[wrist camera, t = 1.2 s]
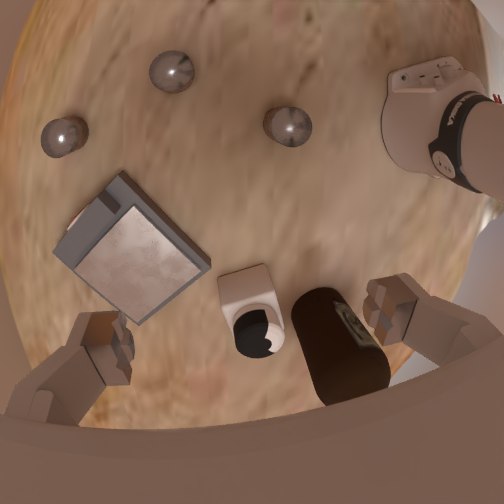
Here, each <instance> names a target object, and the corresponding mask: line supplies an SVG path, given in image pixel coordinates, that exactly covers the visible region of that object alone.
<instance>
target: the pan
mask: <svg viewBox="0 0 504 504" xmlns="http://www.w3.org/2000/svg"><path fill="white" fill-rule="evenodd" d="M74 271H75V272H77V273H78V274H79V275H80V276H81V277H82V278H83V279H84V280H86V281H87V282H88V283H89V284H90V285H91V286H92V287H94V288H95V289H96V290H97V291H98V292H100V293H101V294H102V295H103V296H104V297H106V298H107V299H108V300H109V301H110V302H112V303H113V304H114V305H115V306H117V307H118V308H119V309H120V310H122V311H123V312H124V313H125V314H127V315H128V316H129V317H131V318H132V319H133V320H134V321H136V322H139V321H140V320H141V319H142V318H144V317H145V316H146V315H147V314H148V313H150V312H151V311H152V310H153V309H155V308H156V307H157V306H158V305H160V304H161V303H162V302H163V301H164V300H166V299H167V298H168V297H169V296H171V295H172V294H173V293H174V292H176V291H177V290H178V289H179V288H181V287H182V286H183V285H184V284H186V283H187V282H188V281H189V280H191V279H192V278H193V277H194V276H196V275H197V274H198V273H199V272H201V268H200V267H199V266H198V265H197V264H196V263H195V262H194V261H193V260H192V259H191V258H190V257H189V256H188V255H187V254H185V253H184V252H183V251H182V250H181V249H180V248H179V247H178V246H177V245H176V244H175V243H174V242H173V241H172V240H171V239H170V238H169V237H168V236H167V235H166V234H165V233H164V232H163V231H162V230H161V229H160V228H159V227H158V226H157V225H156V224H154V223H153V222H152V221H151V220H150V219H149V218H148V217H147V216H146V215H145V214H144V213H143V212H142V211H141V210H140V209H139V208H138V207H137V206H136V205H135V204H134V205H133V206H132V207H131V208H130V209H129V210H128V211H127V212H126V213H125V214H124V215H123V216H122V217H121V218H120V219H119V220H118V221H117V223H116V224H115V225H114V226H113V227H112V228H111V229H110V230H109V231H108V232H107V233H106V234H105V235H104V236H103V237H102V238H101V240H100V241H99V242H98V243H97V244H96V245H95V246H94V247H93V248H92V249H91V251H90V252H89V253H88V254H87V255H86V256H85V257H84V258H83V260H82V261H81V262H80V263H79V264H78V265H77V267H76V268H75V270H74Z"/></svg>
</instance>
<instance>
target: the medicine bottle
mask: <svg viewBox="0 0 504 504" xmlns="http://www.w3.org/2000/svg"><path fill="white" fill-rule="evenodd" d="M218 288H219V296H220V304H221V309H222V311H223V314H224V316H225V319H226V321H227V323H228V326H229V328H230V330H231V333H232V335H233V337H234V340H235V344H236V348H237V350H238V351H239V352H240V353H241V354H243V355H244V356H247V357H250V358H264V357H267V356H270V355H272V354H274V353H275V352H276V351H278V350H279V348H280V347H281V346H282V344H283V342H284V339H285V335H284V331H283V329H284V323H283V319H282V315H281V311H280V308H279V304H278V300H277V296H276V292H275V289H274V287H273V284H272V282H271V279H270V277H269V274H268V272H267V269H266V267H265V265H264V264H261V265H258V266H254V267H251V268H248V269H245V270H241V271H238V272H235V273H231V274H228V275H225V276H221V277H219V278H218Z"/></svg>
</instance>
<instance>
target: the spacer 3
mask: <svg viewBox="0 0 504 504" xmlns="http://www.w3.org/2000/svg"><path fill="white" fill-rule="evenodd" d="M263 128H264V131H265V133H266V134H267V136H268V137H269V138H271V139H272V140H274V141H276V142H278V143H280V144H282V145H284V146H287V147H297V146H300V145H302V144H304V143H305V142H306V141H307V140H308V139H309V137H310V135H311V133H312V122H311V119H310V117H309V116H308V114H307V113H306V112H304V111H303V110H301V109H299V108H295V107H276V108H273V109H271V110H270V111H269V112H268V113H267V114H266V115H265V117H264V120H263Z"/></svg>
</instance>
